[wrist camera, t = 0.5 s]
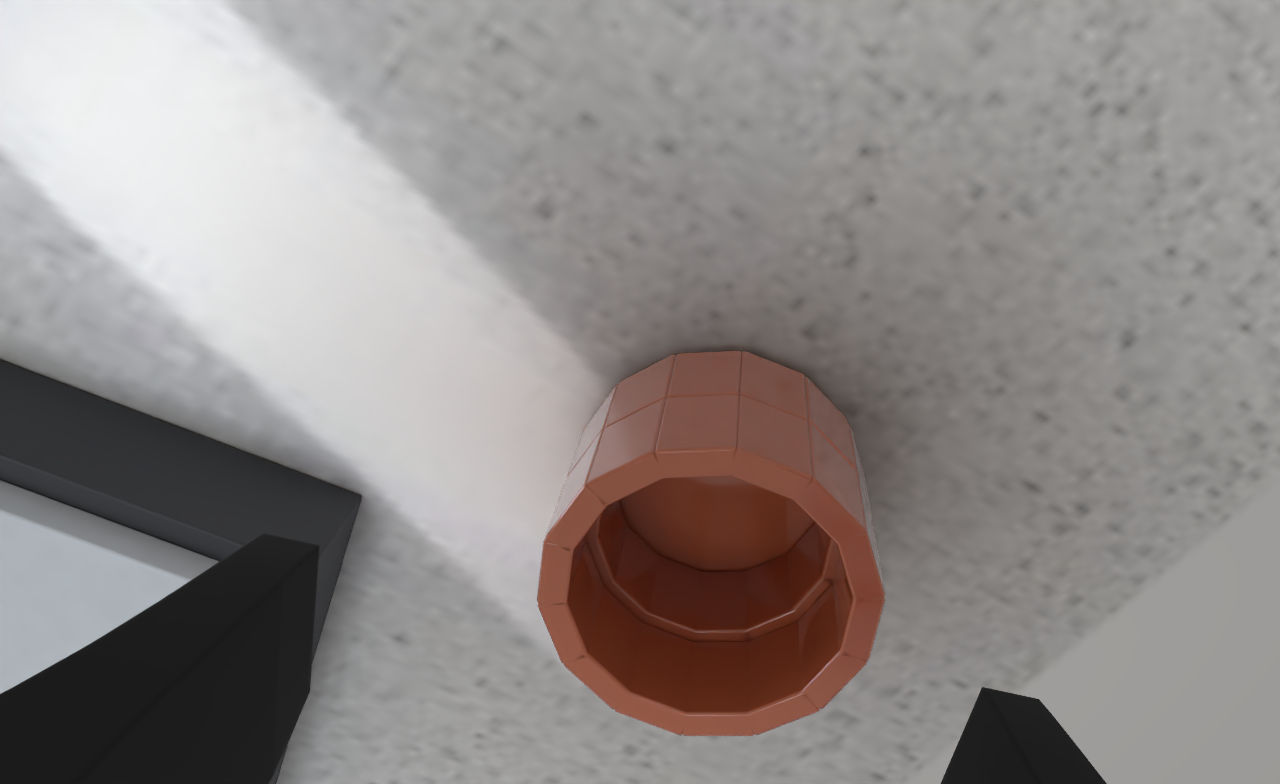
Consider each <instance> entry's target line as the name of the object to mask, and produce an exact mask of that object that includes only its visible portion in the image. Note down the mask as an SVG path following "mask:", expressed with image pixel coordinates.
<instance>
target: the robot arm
mask: <svg viewBox="0 0 1280 784" xmlns="http://www.w3.org/2000/svg"><path fill="white" fill-rule="evenodd" d="M319 547H320V545H316V544H312V543H307V542H302V541H298V540H293V539H288V538H284V537H279V536H274V535H270V534H265V533H264V534H262V535H260V536H259V537H257V538H255V539H254V540H252V541H251V542H249V543H247V544H246V545H244V546H243V547H241V548H239V549H238V550H236V551H235V552H233V553H232V554H230V555H229V556H227V557H226V558H224V559H222V560H221V561H219V562H218V563H216V564H215V565H213V566H212V567H210V568H209V569H207V570H206V571H204V572H203V573H201V574H200V575H198V576H197V577H195V578H194V579H192V580H191V581H189V582H187V583H186V584H184V585H183V586H181V587H180V588H178V589H177V590H175V591H174V592H172V593H171V594H169V595H167V596H166V597H164V598H163V599H161V600H160V601H158V602H157V603H155V604H153V605H152V606H150V607H149V608H147V609H145V610H144V611H142V612H141V613H139V614H137V615H136V616H134V617H132V618H131V619H129V620H128V621H126V622H124V623H123V624H121V625H120V626H118V627H116V628H115V629H113V630H112V631H110V632H108V633H107V634H105V635H104V636H102V637H100V638H99V639H97V640H95V641H94V642H92V643H90V644H89V645H87V646H85V647H83V648H82V649H80V650H78V651H76V652H75V653H73V654H71V655H69V656H68V657H66V658H64V659H62V660H60V661H59V662H57V663H55V664H53V665H52V666H50V667H48V668H46V669H44V670H43V671H41V672H39V673H37V674H36V675H34V676H32V677H30V678H28V679H27V680H25V681H23V682H21V683H20V684H18V685H16V686H14V687H12V688H11V689H9V690H7V691H5V692H3V693H1V694H0V784H269V782H270V780H271V779H272V777H273V775H274V773H275V770H276V768H277V766H278V764H279V761H280V759H281V757H282V755H283V752H284V750H285V748H286V746H287V743H288V741H289V739H290V737H291V734H292V732H293V730H294V727H295V725H296V722H297V720H298V718H299V715H300V713H301V711H302V708H303V706H304V704H305V701H306V699H307V696H308V694H309V692H310V679H311V664H312V649H313V635H314V620H315V605H316V591H317V576H318V561H319ZM941 784H1106V782H1105V781H1104V780H1103V779H1102V777H1101V776H1100V775H1099V774H1098V772H1097V771H1096V770H1095V769H1094V767H1093V766H1092V765H1091V763H1090V762H1089V761H1088V759H1087V758H1086V757H1085V756H1084V754H1083V753H1082V752H1081V751H1080V749H1079V748H1078V747H1077V746H1076V744H1075V743H1074V742H1073V740H1072V739H1071V738H1070V737H1069V735H1068V734H1067V733H1066V731H1064V729H1063V728H1062V727H1061V725H1060V724H1059V723H1058V722H1057V720H1056V719H1055V718H1054V717H1053V715H1052V714H1051V713H1050V712H1049V711H1048V709H1046V707H1045V706H1044V705H1043V704H1042V703H1041V701H1040V700H1039V699H1035V698H1031V697H1026V696H1021V695H1017V694H1012V693H1007V692H1003V691H998V690H993V689H989V688H984V687H982V689H981V691H980V694H979V696H978V698H977V701H976V703H975V705H974V708H973V710H972V712H971V715H970V717H969V719H968V722H967V724H966V726H965V729H964V731H963V733H962V736H961V738H960V740H959V742H958V745H957V747H956V749H955V752H954V754H953V757H952V759H951V761H950V763H949V766H948V768H947V770H946V773H945V775H944V778H943V780H942V782H941Z"/></svg>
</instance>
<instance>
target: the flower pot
mask: <svg viewBox="0 0 1280 784" xmlns="http://www.w3.org/2000/svg"><path fill="white" fill-rule="evenodd" d="M537 601H538V607H539V610H540V612H541V614H542V617H543V619H544V622H545V624H546V626H547V629H548V631H549V633H550V636H551V638H552V641H553V643H554V645H555V648H556V650H557V652H558V655H559V657H560V660H561V662H562V663H564V665H565V667H566V668H567V669H568V670H569V671H571V672H572V673H573V674H574V675H575V676H576V677H577V678H578V679H579V680H581V681H582V682H583V683H584V684H585V685H586V686H587V687H588V688H590V689H591V690H592V691H593V692H594V693H595V694H596V695H597V696H598V697H600V698H601V699H602V700H603V701H604V702H605V703H606V704H607V705H608V706H610V707H611V708H612V709H615V711H616V712H618V713H621V714H624V715H626V716H629V717H632V718H635V719H637V720H640V721H643V722H645V723H648V724H651V725H653V726H656V727H659V728H662V729H664V730H667V731H670V732H672V733H675V734H678V735H682V734H683V735H684V736H753V735H754V734H755V735H759V734H761V733H764V732H766V731H769V730H772V729H774V728H777V727H779V726H782V725H784V724H787V723H790V722H792V721H795V720H797V719H800V718H803V717H805V716H808V715H810V714H813V713H815V712H818V711H819V710H820V709H822V708H824V707H825V706H826V705H827V704H828V703H829V702H830V701H831V700H832V699H833V698H834V697H835V696H836V694H837V693H838V692H839V691H840V690H841V689H842V688H843V687H844V686H845V685H846V684H847V683H848V682H849V681H850V680H851V679H852V678H853V677H854V676H855V675H856V674H857V673H858V672H859V671H860V670H861V669H862V668H863V667H864V666H865V665H866V663H867V661H868V660H869V658H870V655H871V651H872V647H873V644H874V640H875V636H876V633H877V629H878V625H879V622H880V618H881V614H882V611H883V607H884V603H885V590H884V584H883V578H882V572H881V567H880V561H879V555H878V549H877V544H876V538H875V532H874V528H873V521H872V516H871V510H870V504H869V498H868V492H867V487H866V481H865V475H864V472H863V468H862V464H861V461H860V457H859V454H858V450H857V446H856V443H855V439H854V436H853V432H852V428H851V426H850V425H849V423H848V420H847V418H846V417H845V416H844V415H843V414H842V413H841V412H840V411H839V410H838V409H837V408H836V407H835V406H834V405H833V403H832V402H831V401H830V400H829V399H828V398H827V397H826V396H825V395H824V394H823V393H822V392H821V391H820V390H819V389H818V388H817V387H816V385H815V384H814V383H813V382H812V381H811V380H810V379H809V378H808V377H806V376H805V377H804V374H802V373H800V372H797V371H795V370H792V369H790V368H787V367H785V366H782V365H779V364H777V363H774V362H772V361H769V360H767V359H764V358H761V357H759V356H756V355H754V354H751V353H749V352H746V351H743V352H741V351H722V352H700V353H679V354H677V355H674V354H673V355H670V356H668V357H667V358H665V359H663V360H661V361H659V362H657V363H655V364H653V365H651V366H649V367H647V368H645V369H643V370H641V371H639V372H638V373H636V374H634V375H632V376H630V377H628V378H626V379H624V380H622V381H620V382H619V384H617V385H616V386H615V387H614V388H613V390H612V391H611V392H610V394H609V395H608V397H607V398H606V399H605V401H604V402H603V404H602V405H601V406H600V408H599V409H598V410H597V412H596V413H595V415H594V416H593V417H592V419H591V420H590V422H589V423H588V424H587V426H586V427H585V429H584V431H583V434H582V436H581V439H580V442H579V445H578V447H577V450H576V453H575V456H574V459H573V461H572V464H571V467H570V470H569V472H568V475H567V478H566V481H565V484H564V486H563V489H562V491H561V494H560V497H559V500H558V502H557V505H556V508H555V511H554V514H553V516H552V519H551V522H550V525H549V527H548V530H547V533H546V536H545V539H544V541H543V550H542V559H541V568H540V577H539V586H538V595H537Z"/></svg>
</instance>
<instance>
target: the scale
mask: <svg viewBox="0 0 1280 784" xmlns="http://www.w3.org/2000/svg"><path fill="white" fill-rule="evenodd" d="M360 500H361V496H359V495H357V494H354V493H351V492H349V491H346V490H344V489H341V488H338V487H336V486H333V485H330V484H328V483H325V482H322V481H320V480H317V479H314V478H312V477H309V476H306V475H304V474H301V473H298V472H296V471H293V470H290V469H288V468H285V467H282V466H280V465H277V464H274V463H272V462H269V461H266V460H264V459H261V458H258V457H256V456H253V455H250V454H248V453H245V452H243V451H240V450H237V449H235V448H232V447H229V446H227V445H224V444H221V443H219V442H216V441H213V440H211V439H208V438H205V437H203V436H200V435H197V434H195V433H192V432H189V431H187V430H184V429H181V428H179V427H176V426H173V425H171V424H168V423H165V422H163V421H160V420H157V419H155V418H152V417H150V416H147V415H144V414H142V413H139V412H136V411H134V410H131V409H128V408H126V407H123V406H120V405H118V404H115V403H112V402H110V401H107V400H104V399H102V398H99V397H96V396H94V395H91V394H88V393H86V392H83V391H80V390H78V389H75V388H72V387H70V386H67V385H64V384H62V383H59V382H57V381H54V380H51V379H49V378H46V377H43V376H41V375H38V374H35V373H33V372H30V371H27V370H25V369H22V368H19V367H17V366H14V365H11V364H9V363H6V362H3V361H1V360H0V694H1V693H3V692H5V691H7V690H9V689H11V688H12V687H14V686H16V685H18V684H20V683H21V682H23V681H25V680H27V679H28V678H30V677H32V676H34V675H36V674H37V673H39V672H41V671H43V670H44V669H46V668H48V667H50V666H52V665H53V664H55V663H57V662H59V661H60V660H62V659H64V658H66V657H68V656H69V655H71V654H73V653H75V652H76V651H78V650H80V649H82V648H83V647H85V646H87V645H89V644H90V643H92V642H94V641H95V640H97V639H99V638H100V637H102V636H104V635H105V634H107V633H108V632H110V631H112V630H113V629H115V628H116V627H118V626H120V625H121V624H123V623H124V622H126V621H128V620H129V619H131V618H132V617H134V616H136V615H137V614H139V613H141V612H142V611H144V610H145V609H147V608H149V607H150V606H152V605H153V604H155V603H157V602H158V601H160V600H161V599H163V598H164V597H166V596H167V595H169V594H171V593H172V592H174V591H175V590H177V589H178V588H180V587H181V586H183V585H184V584H186V583H187V582H189V581H191V580H192V579H194V578H195V577H197V576H198V575H200V574H201V573H203V572H204V571H206V570H207V569H209V568H210V567H212V566H213V565H215V564H216V563H218V562H219V561H221V560H222V559H224V558H226V557H227V556H229V555H230V554H232V553H233V552H235V551H236V550H238V549H239V548H241V547H243V546H244V545H246V544H247V543H249V542H251V541H252V540H254V539H255V538H257V537H259V536H260V535H262V534H264V533H265V534H270V535H274V536H279V537H284V538H288V539H293V540H298V541H302V542H307V543H312V544H316V545H320V547H319V561H318V576H317V591H316V605H315V620H314V635H313V649H312V661H313V657H314V654H315V651H316V647H317V644H318V641H319V637H320V634H321V631H322V627H323V624H324V621H325V617H326V614H327V611H328V607H329V604H330V601H331V597H332V594H333V591H334V587H335V584H336V581H337V577H338V574H339V571H340V567H341V564H342V561H343V557H344V554H345V551H346V547H347V544H348V541H349V537H350V534H351V531H352V527H353V524H354V521H355V517H356V514H357V510H358V507H359V504H360ZM287 744H288V743H287ZM286 748H287V746H286ZM286 748H285V750H284V752H283V755H282V757H281V759H280V761H279V764H278V766H277V768H276V770H275V773H274V775H273V777H272V779H271V780H270V782H269V784H276V781H277V778H278V774H279V771H280V768H281V764H282V761H283V758H284V754H285V751H286Z"/></svg>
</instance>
